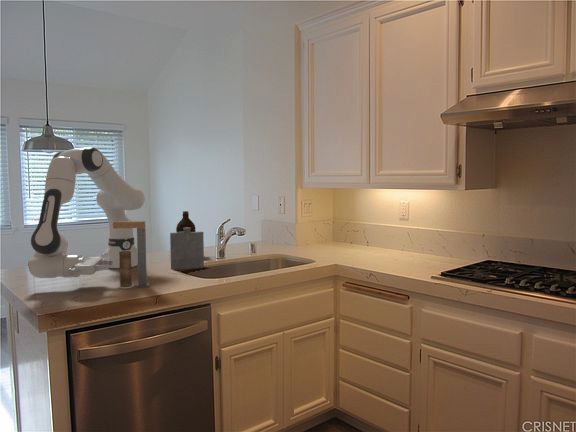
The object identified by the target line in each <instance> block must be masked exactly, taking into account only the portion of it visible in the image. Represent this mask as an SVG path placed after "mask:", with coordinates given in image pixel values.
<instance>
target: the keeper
mask: <svg viewBox="0 0 576 432" xmlns="http://www.w3.org/2000/svg"><path fill="white" fill-rule="evenodd" d="M113 228H133V229H136V241H137V242H136V244H137V245H136V246H137V247H136V248H137V253H138V265H137V275H138V276H137V280H138V281H137V283H136V284H134V283H132V286H130V287H120V284H119V285H117V286H116V288H117V289H123V290H124V289H125V290H127V289H132V288H137V289H138V288H149V286H150V282H148V278H147V275H148V274H147V273H148V272H147V271H148V270H147V240H146V239H147V238H146V236H147V235H146V232H147V231H146V230H147V229H146V220H134V221H133V220H131V221H116V222H113Z"/></svg>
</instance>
